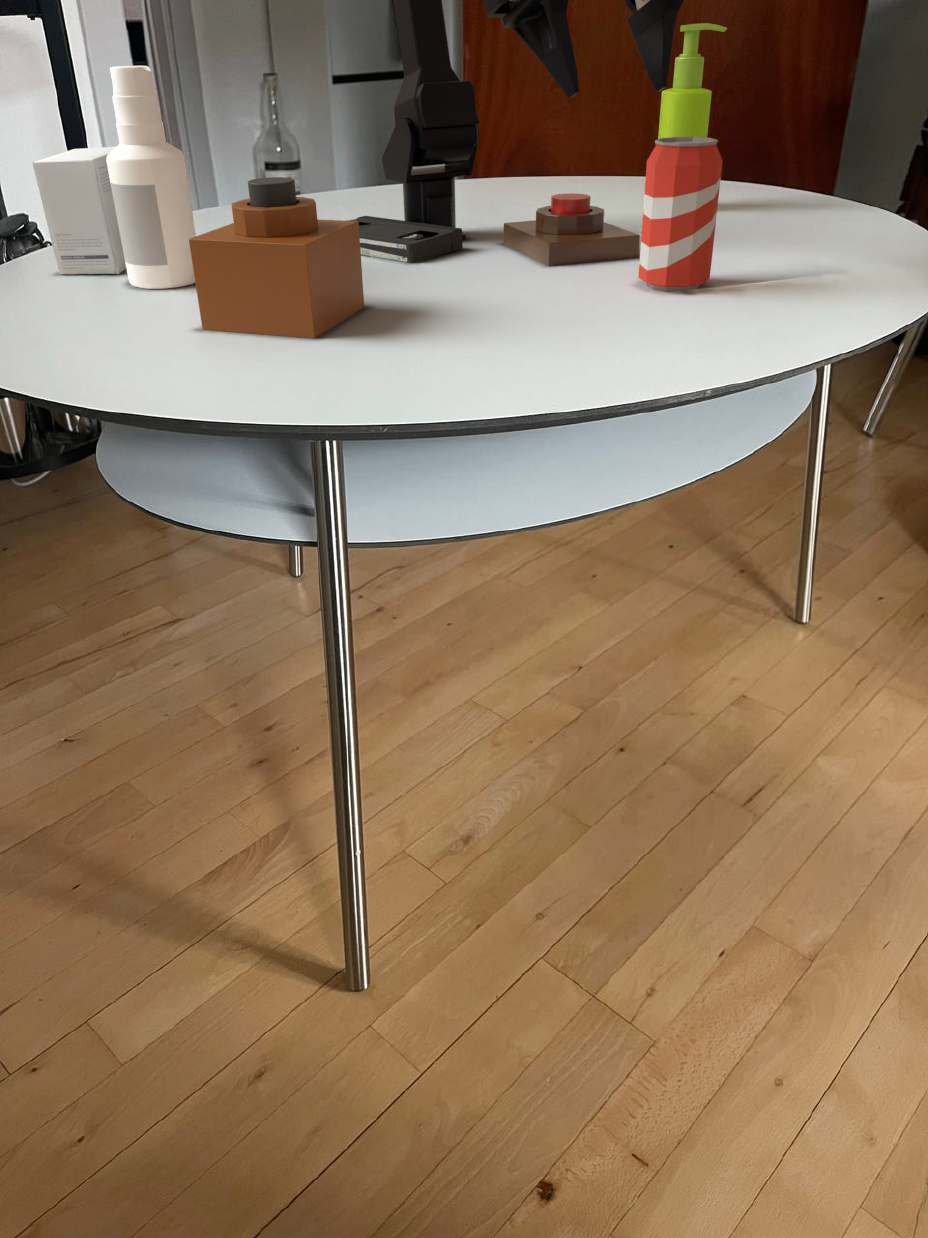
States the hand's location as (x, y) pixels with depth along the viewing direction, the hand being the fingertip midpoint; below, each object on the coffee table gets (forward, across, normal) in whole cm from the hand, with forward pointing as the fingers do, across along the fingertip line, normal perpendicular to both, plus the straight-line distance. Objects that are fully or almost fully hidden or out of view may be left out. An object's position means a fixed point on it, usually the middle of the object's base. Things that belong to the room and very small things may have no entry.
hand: (619, 91), depth 80 cm
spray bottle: (+3, -32, +32) cm, 45 cm away
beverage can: (+15, +6, +5) cm, 17 cm away
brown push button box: (+11, -28, +14) cm, 33 cm away
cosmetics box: (-2, -34, +43) cm, 55 cm away
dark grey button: (+3, -27, +11) cm, 30 cm away
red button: (+4, +8, +20) cm, 22 cm away
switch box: (+8, +8, +21) cm, 24 cm away
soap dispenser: (+2, +35, +33) cm, 48 cm away
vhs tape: (+2, -7, +33) cm, 33 cm away
